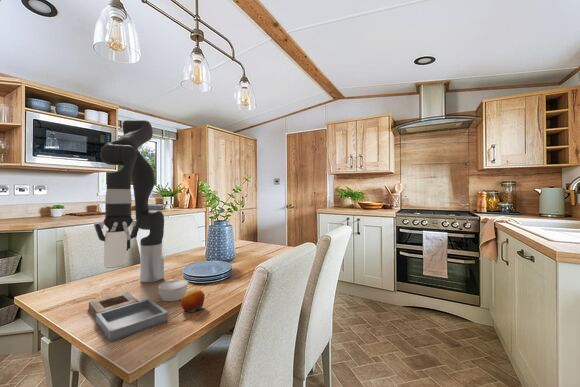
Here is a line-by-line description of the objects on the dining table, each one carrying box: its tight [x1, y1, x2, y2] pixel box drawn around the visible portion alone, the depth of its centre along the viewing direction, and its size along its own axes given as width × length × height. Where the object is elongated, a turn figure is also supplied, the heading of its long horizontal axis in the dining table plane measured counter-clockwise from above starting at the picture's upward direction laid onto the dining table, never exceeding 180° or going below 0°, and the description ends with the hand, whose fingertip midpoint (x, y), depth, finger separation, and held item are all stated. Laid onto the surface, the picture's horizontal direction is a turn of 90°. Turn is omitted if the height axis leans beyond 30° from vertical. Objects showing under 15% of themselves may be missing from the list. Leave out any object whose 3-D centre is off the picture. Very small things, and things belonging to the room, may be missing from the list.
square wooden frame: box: [88, 291, 140, 318], centre depth 94 cm, size 12×12×2 cm
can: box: [103, 230, 128, 269], centre depth 88 cm, size 6×6×12 cm
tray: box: [95, 298, 169, 343], centre depth 84 cm, size 16×16×3 cm
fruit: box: [180, 289, 206, 313], centre depth 93 cm, size 8×8×8 cm
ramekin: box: [157, 279, 189, 302], centre depth 104 cm, size 11×11×5 cm
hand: (118, 251), depth 89 cm, fingers closed on can, 4 cm apart
